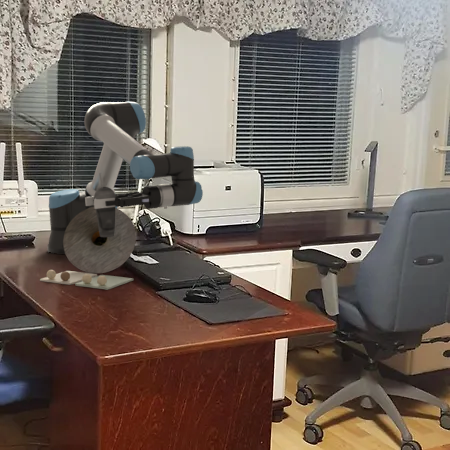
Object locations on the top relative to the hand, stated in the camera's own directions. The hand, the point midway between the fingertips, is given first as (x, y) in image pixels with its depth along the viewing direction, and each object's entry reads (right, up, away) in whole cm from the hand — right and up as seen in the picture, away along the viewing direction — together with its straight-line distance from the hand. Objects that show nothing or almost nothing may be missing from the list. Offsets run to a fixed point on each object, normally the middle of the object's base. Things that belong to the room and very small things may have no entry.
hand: (90, 202), depth 230 cm
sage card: (+4, -25, +5) cm, 26 cm away
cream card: (-9, -24, +12) cm, 29 cm away
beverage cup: (+5, -11, +4) cm, 12 cm away
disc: (0, -22, +28) cm, 36 cm away
